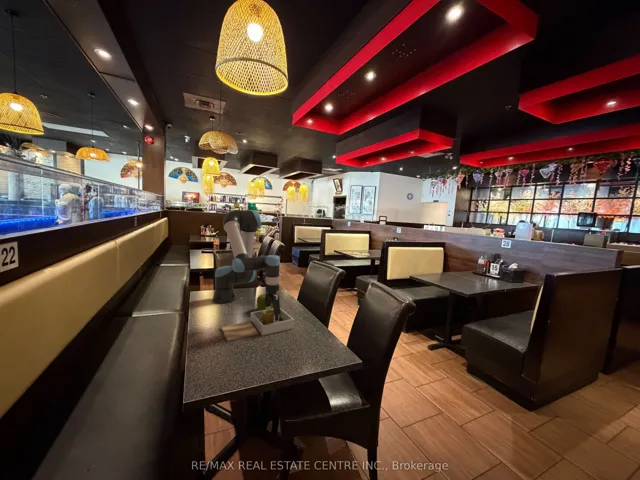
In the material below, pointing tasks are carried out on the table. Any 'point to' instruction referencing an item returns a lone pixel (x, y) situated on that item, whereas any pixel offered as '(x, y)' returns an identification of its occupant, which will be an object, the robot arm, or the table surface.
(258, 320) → the tub
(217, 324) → the table surface
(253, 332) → the board
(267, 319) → the mug
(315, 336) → the table surface
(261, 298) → the apple
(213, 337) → the table surface
